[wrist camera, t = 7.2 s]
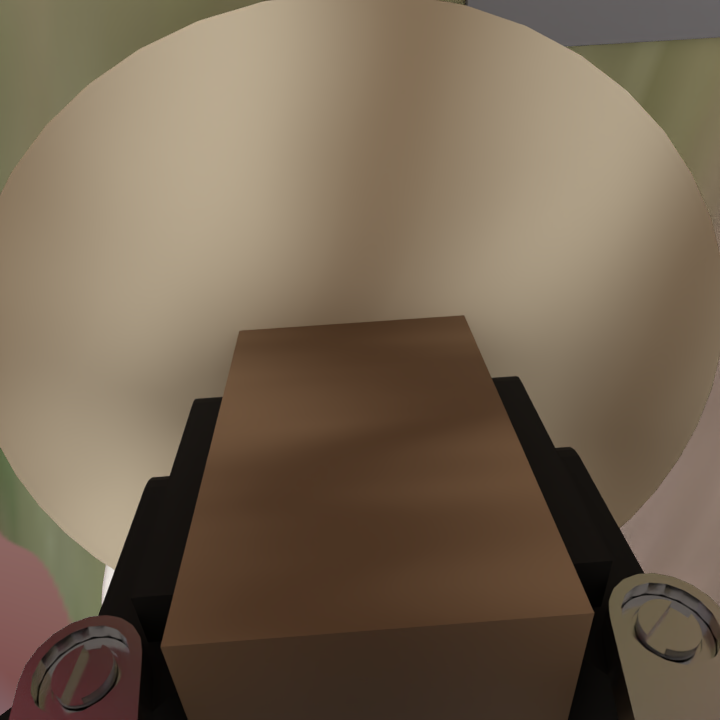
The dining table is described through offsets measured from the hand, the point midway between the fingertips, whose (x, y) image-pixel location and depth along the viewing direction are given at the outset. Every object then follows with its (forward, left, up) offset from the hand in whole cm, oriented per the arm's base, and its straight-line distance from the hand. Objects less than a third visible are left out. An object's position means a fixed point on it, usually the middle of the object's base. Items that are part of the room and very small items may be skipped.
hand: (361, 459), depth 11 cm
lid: (0, 0, -2) cm, 2 cm away
